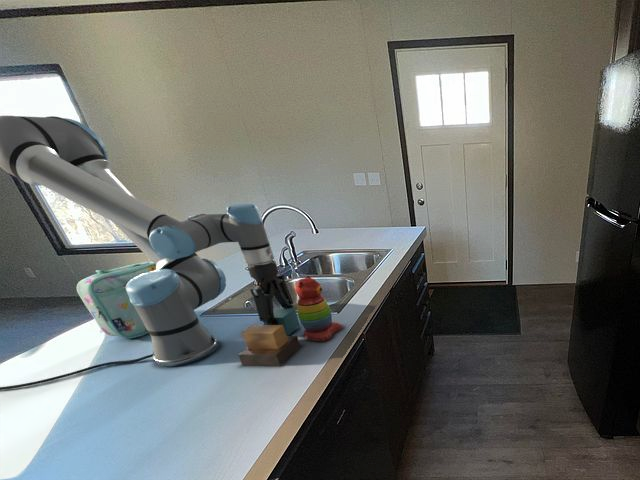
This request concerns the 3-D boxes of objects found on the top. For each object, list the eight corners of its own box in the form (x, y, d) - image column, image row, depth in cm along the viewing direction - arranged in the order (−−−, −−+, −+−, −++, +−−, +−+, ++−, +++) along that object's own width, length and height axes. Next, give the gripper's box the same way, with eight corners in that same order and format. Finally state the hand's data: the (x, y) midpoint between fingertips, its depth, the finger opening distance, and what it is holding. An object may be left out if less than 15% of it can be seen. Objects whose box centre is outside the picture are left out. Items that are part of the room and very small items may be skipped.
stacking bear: (326, 342, 113) (310, 285, 104) (296, 340, 115) (278, 284, 106) (344, 326, 122) (331, 272, 113) (316, 325, 124) (301, 272, 115)
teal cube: (267, 335, 117) (261, 317, 114) (280, 325, 123) (274, 308, 120) (289, 335, 117) (283, 317, 114) (300, 325, 123) (294, 308, 120)
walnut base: (242, 365, 103) (237, 354, 101) (265, 346, 112) (261, 335, 111) (280, 366, 102) (276, 354, 100) (300, 346, 111) (297, 335, 109)
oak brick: (248, 349, 104) (241, 333, 101) (258, 340, 108) (252, 324, 105) (278, 349, 103) (272, 333, 100) (288, 340, 107) (282, 324, 104)
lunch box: (120, 346, 117) (79, 280, 106) (101, 342, 120) (59, 277, 109) (202, 312, 138) (175, 254, 127) (184, 309, 141) (156, 252, 130)
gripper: (251, 272, 100) (278, 348, 112) (291, 252, 117) (311, 319, 129) (225, 273, 101) (255, 348, 112) (268, 253, 118) (290, 319, 130)
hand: (285, 332), depth 121 cm, fingers closed on teal cube, 7 cm apart
